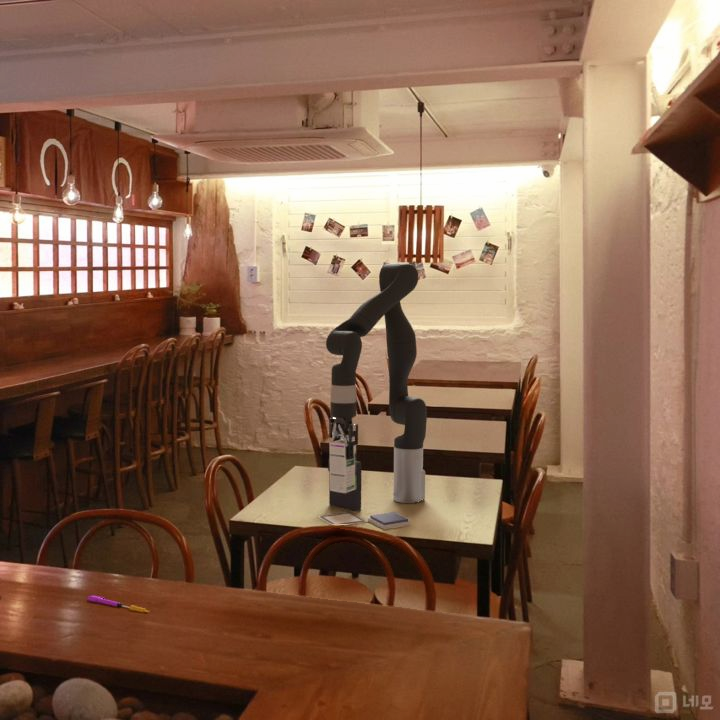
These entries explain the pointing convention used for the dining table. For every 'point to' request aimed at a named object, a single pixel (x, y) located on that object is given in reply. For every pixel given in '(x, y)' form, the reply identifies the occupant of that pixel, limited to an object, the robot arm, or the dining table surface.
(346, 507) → the dark grey upright block
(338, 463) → the syrup box
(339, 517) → the marked card
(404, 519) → the ink pad
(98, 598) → the purple and yellow stick
